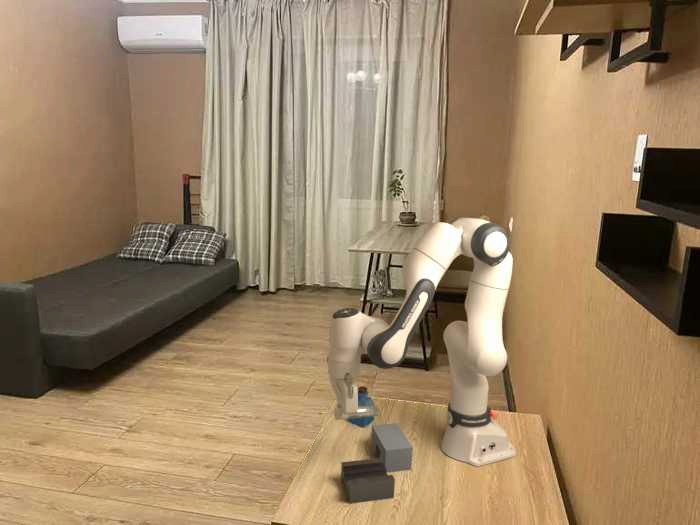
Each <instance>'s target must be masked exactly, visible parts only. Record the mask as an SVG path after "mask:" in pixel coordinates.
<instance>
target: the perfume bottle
mask: <svg viewBox="0 0 700 525" xmlns="http://www.w3.org/2000/svg"><path fill="white" fill-rule="evenodd" d="M357 390H358V407H360V406H373V405H376V404H375V402H374V400H373V399H372V397H371V396H368V395H369V392H368V387H366V386H359V387H357ZM373 420H374V421H375V416H373V417H361V418H349V419H348V423H349V422H350V423H349V424H351V423H352V425H354V424H355V426H357V427H359V426H360V427H359V428H362V429H365V428H366V427H368V426H369V425H371V424H372V423H373V422H374V421H373ZM372 421H373V422H372ZM371 422H372V423H371ZM367 425H368V426H367Z"/></svg>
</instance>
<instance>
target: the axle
mask: <svg viewBox="0 0 700 525" xmlns="http://www.w3.org/2000/svg"><path fill="white" fill-rule="evenodd" d="M341 409H342V408H337V407H336V408H334V417H335V420H347V419H348V420H349V418H361V417H373V416H374V417H378V416H379V406H378V405H377V404H375V405H373V406H360V407H358V411H357V413H355V414H348V417H347V418H342V417H341Z"/></svg>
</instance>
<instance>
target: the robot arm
mask: <svg viewBox="0 0 700 525" xmlns="http://www.w3.org/2000/svg"><path fill="white" fill-rule="evenodd" d="M509 248H510V239H509V235H508V232H507V231H506V230H505V229H504V228H503V227H502V226H501V225H499V224H497V223H495V222H491V221H488V220H485V219H483V218H472V217H470V216H459V217H457V218H455V219H453V220H451V221H450V222H449V223H448V222H442V221H440V222H438V221H437V222H435V223H434V224H433V225H431V227H429V229H427V230H426V232H425V233H423V235H422V236H421V237H420V238H419V239H418V240H417V242H416V244H414V246H413V248H412V249H411V250H410V251H409V253H408V254H407V256H406V257H405V261H404V262H403V265H402V269H401V271H402V272H401V273H402V277H403V280H404V284H405V289H406V292H405V298H404V301H403V302H402V304H401V305H400V308H399V309H398V311H397V313H396V315H395V316H394V318H393V320H392V322H391V323H390V325H389V324H388V323H387V322H386V321H385V320H383V319H381V318H379V317H376V316H375V317H374V316H370V315H368V314H365V313H363V312H361V311H360V310H359V309H358V308H354V307H345V308H340V309H338V310H337V311H335V312H334V313H333V314H332V316H331V318H330V323H329V332H328V333H329V334H328V344H329V351H328V355H327V356H326V363H327V374H328V377H329V382H330V385H331V388H332V390H333V391H334V392H333V393H334V394H335V396H336V408H342V409H341V417H342V418H347V417H348V414H355V413H357V411H358V385H357V384H356V382H355V380H356V377H358V376H359V375H361V374H360V373H361V360H362V358H361V357H362V355H364V354H366V355H367V356H368V358H369V359H370V361H371V363H372V364H373V365H374V366H375V367H377V368H379V369H381V370H382V369H383V370H388V369H393V368H395V367H397V366H399V365H400V364H401V363H402V362H403V361H404V360H405V358H406V356H407V353H408V350H409V346H410V342H411V339H412V338H413V335H414V333H415V332H416V330H417V329H418V327H419V325H420V324H421V321H422V320H423V318H424V316H425V313H426V312H427V310H428V308H429V307H430V305H431V304H432V301H433V299H434V296H435V292H436V289H437V288H438V284H439V283H440V281H441V280H442V278H443V276H444V275H445V273H446V271H447V270H448V269H449V267H450V266H451V264H452V263H453V261H454V260H455V259H456V258H457V257H458V256H460V255H463V256H466V257H468V258H471V259H473V264H474V265H473V270H472V273H471V277H470V280H469V285H468V288H467V291H466V292H467V293H466V297H465V300H464V310H465V312H466V317H467V318H466V319H467V321H463V320H455V321H451V323H449V324H448V325H447V326H446V328H445V329H444V331H443V335H442V336H443V342H444V344H445V347H446V350H447V357H448V364H449V370H450V371H449V372H450V393H449V394H450V397H449V402H448V405H447V413H446V422H447V424H446V426H445V427H446V428H445V432H444V435H443V437H442V440H441V442H440V448H441V450H442V452H443V453H444V454H445V455H447V456H448V457H450V458H451V459H454V460H457V461H460V462H464V463H467V464H469V465H472V466H474V467H482V466H486V465H489V464H493V463H497V462H500V461H503V460H507V459H511V458H515V457H516V450H515V448H514V445H513V444H512V443H511V442H510V440H509V438H508V434H507V432H506V430H505V429H504V428H503V426H502V425H500V423H498V422H497V421H496V420H497V419H498V418H499V414H498V413H497V412H496V411H495V410H492V408H491V407H489V406H488V400H489V398H488V397H489V389H490V385H489V382H488V379H487V377H495V376H496V375H498V374H500V373H501V372H503V370H504V369H505V367H506V365H507V362H508V352H507V351H506V349H505V345H504V344H505V343H504V338H503V317H504V316H503V314H504V310H505V307H506V301H507V297H508V293H509V289H510V286H511V280H512V275H513V266H514V264H513V262H514V259H513V255H512V253H511V252H510V251H509Z"/></svg>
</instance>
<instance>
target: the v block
mask: <svg viewBox="0 0 700 525" xmlns="http://www.w3.org/2000/svg"><path fill="white" fill-rule="evenodd" d="M386 470H387V469H386V467H385V460H384V458H380V457H378V458H369V459H368V458H367V459H360V460H350V461H342V462H341V466H340V482H341V484H342V487H343V490H344V492H345V495H346V498H347V500H348V503H349V504H357V503H365V502H372V501H382V500H388V499H389V500H390V499H394V498H395V482H396V478H395V476H394V475H393V474H388V472H387V473H386Z"/></svg>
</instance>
